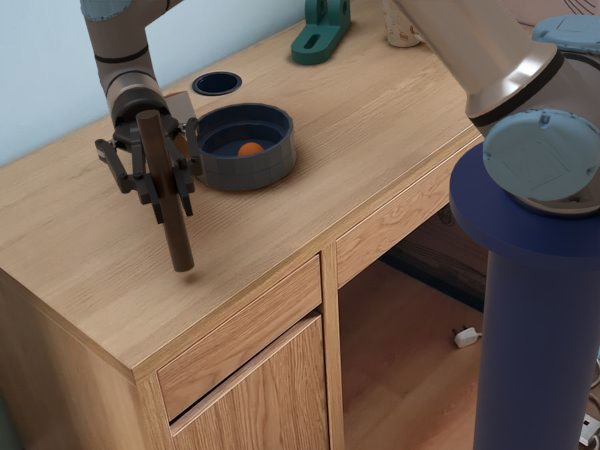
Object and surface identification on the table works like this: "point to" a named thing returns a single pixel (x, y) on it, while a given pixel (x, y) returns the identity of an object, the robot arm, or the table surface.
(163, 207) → the stick
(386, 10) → the mug
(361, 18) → the table surface
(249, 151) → the ball
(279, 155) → the bowl
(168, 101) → the small box
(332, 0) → the bracket
